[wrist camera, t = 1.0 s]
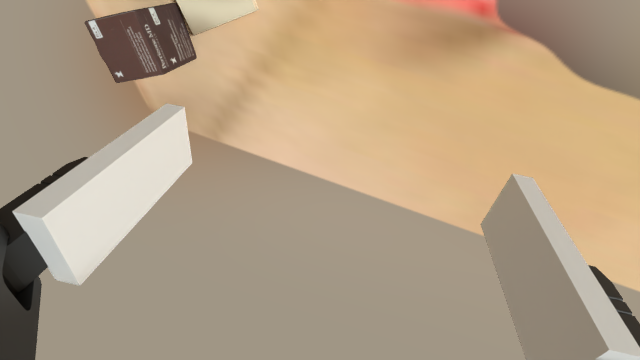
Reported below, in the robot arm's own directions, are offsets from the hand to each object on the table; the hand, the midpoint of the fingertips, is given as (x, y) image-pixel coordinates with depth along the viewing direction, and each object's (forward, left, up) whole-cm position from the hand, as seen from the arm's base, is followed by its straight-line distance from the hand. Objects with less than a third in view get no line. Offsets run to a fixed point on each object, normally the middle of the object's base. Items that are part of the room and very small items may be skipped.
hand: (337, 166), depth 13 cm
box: (-8, -22, -25) cm, 35 cm away
